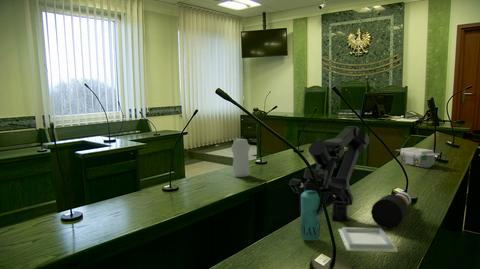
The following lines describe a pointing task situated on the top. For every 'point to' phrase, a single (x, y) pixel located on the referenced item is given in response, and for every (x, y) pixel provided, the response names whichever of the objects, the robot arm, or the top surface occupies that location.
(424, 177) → the top surface
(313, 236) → the beverage bottle
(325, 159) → the robot arm
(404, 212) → the black cylinder
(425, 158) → the electrical outlet
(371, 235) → the white square tray
